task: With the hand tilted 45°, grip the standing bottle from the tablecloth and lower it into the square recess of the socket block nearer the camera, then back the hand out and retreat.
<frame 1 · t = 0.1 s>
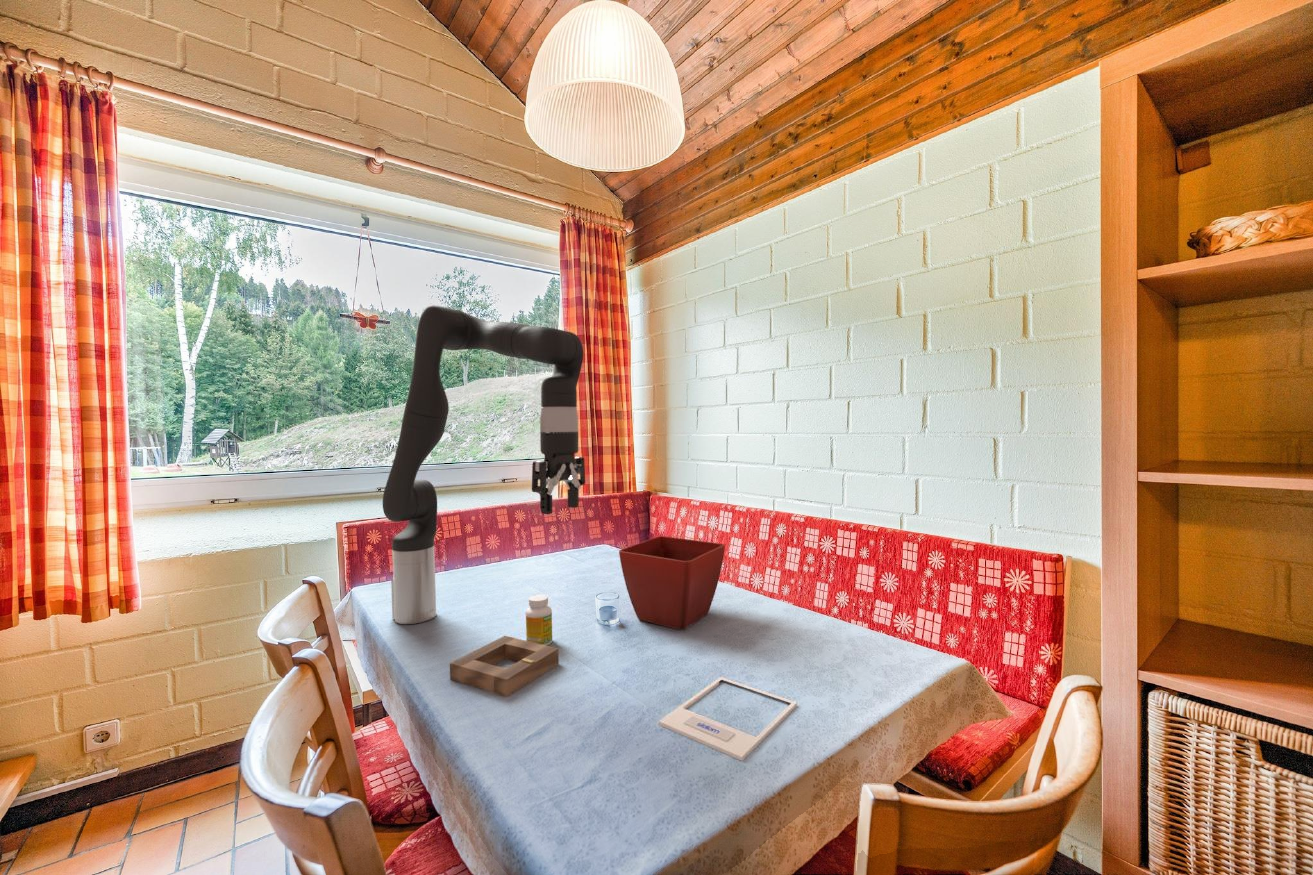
hand: (560, 510, 109), 29 cm above the table, tool pointing down, fingers open, 8 cm apart
plant pot: (674, 617, 129), on the table
photo frame: (729, 718, 86), on the table
socket block: (505, 671, 102), on the table
supplement bottle: (539, 643, 115), on the table
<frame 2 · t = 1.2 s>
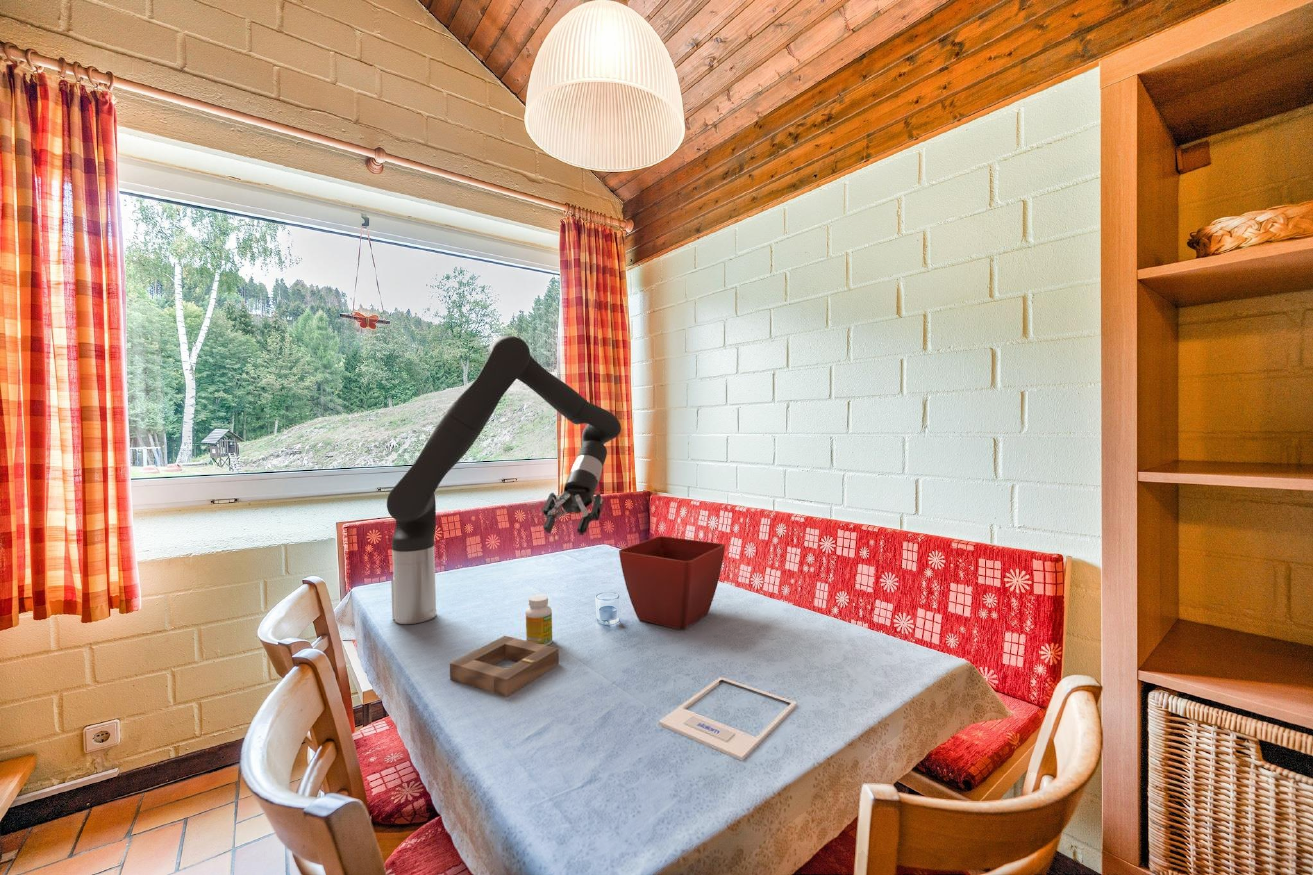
hand: (563, 532, 125), 21 cm above the table, tool tilted 45°, fingers open, 8 cm apart
nothing on the table moved.
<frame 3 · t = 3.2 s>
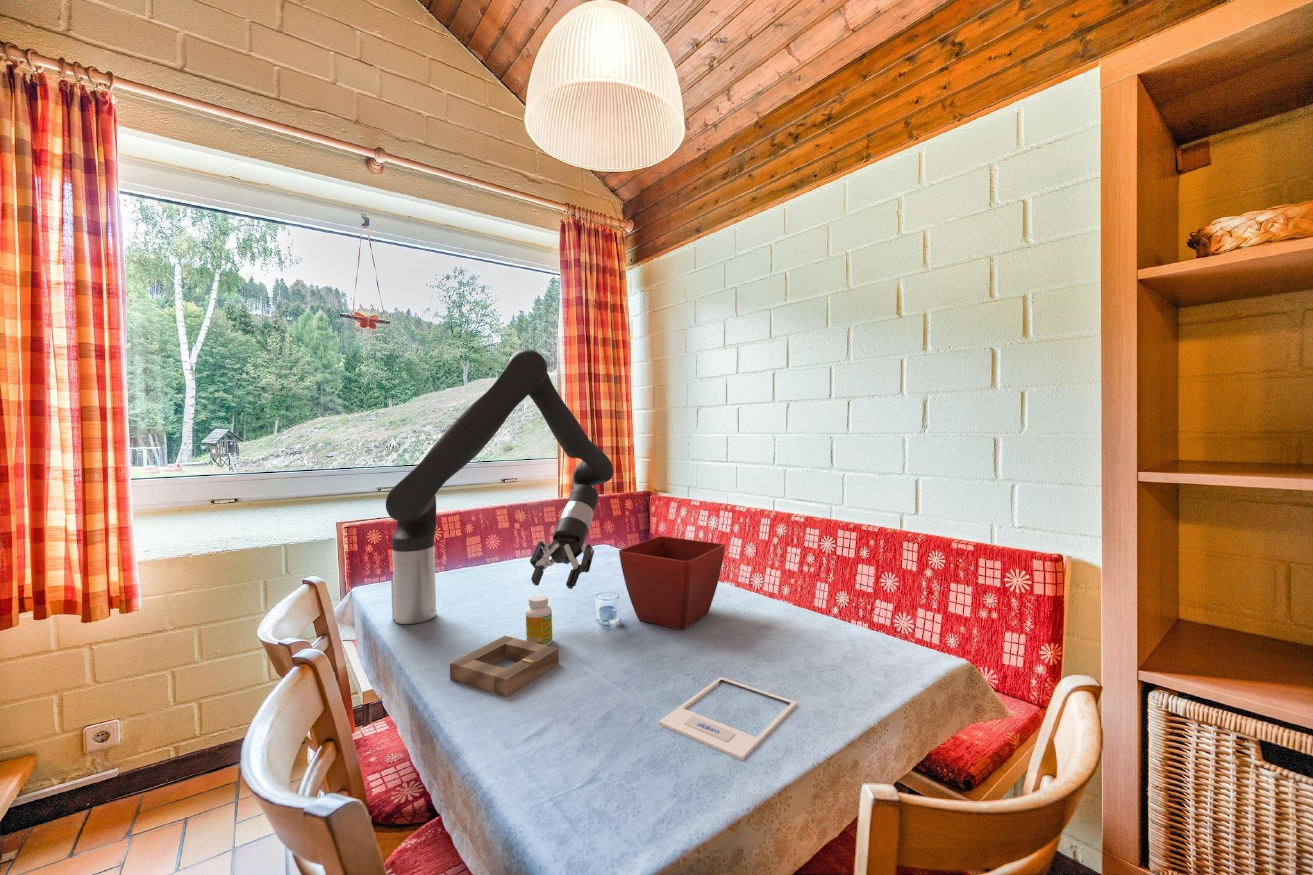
hand: (551, 585, 120), 11 cm above the table, tool tilted 45°, fingers open, 8 cm apart
nothing on the table moved.
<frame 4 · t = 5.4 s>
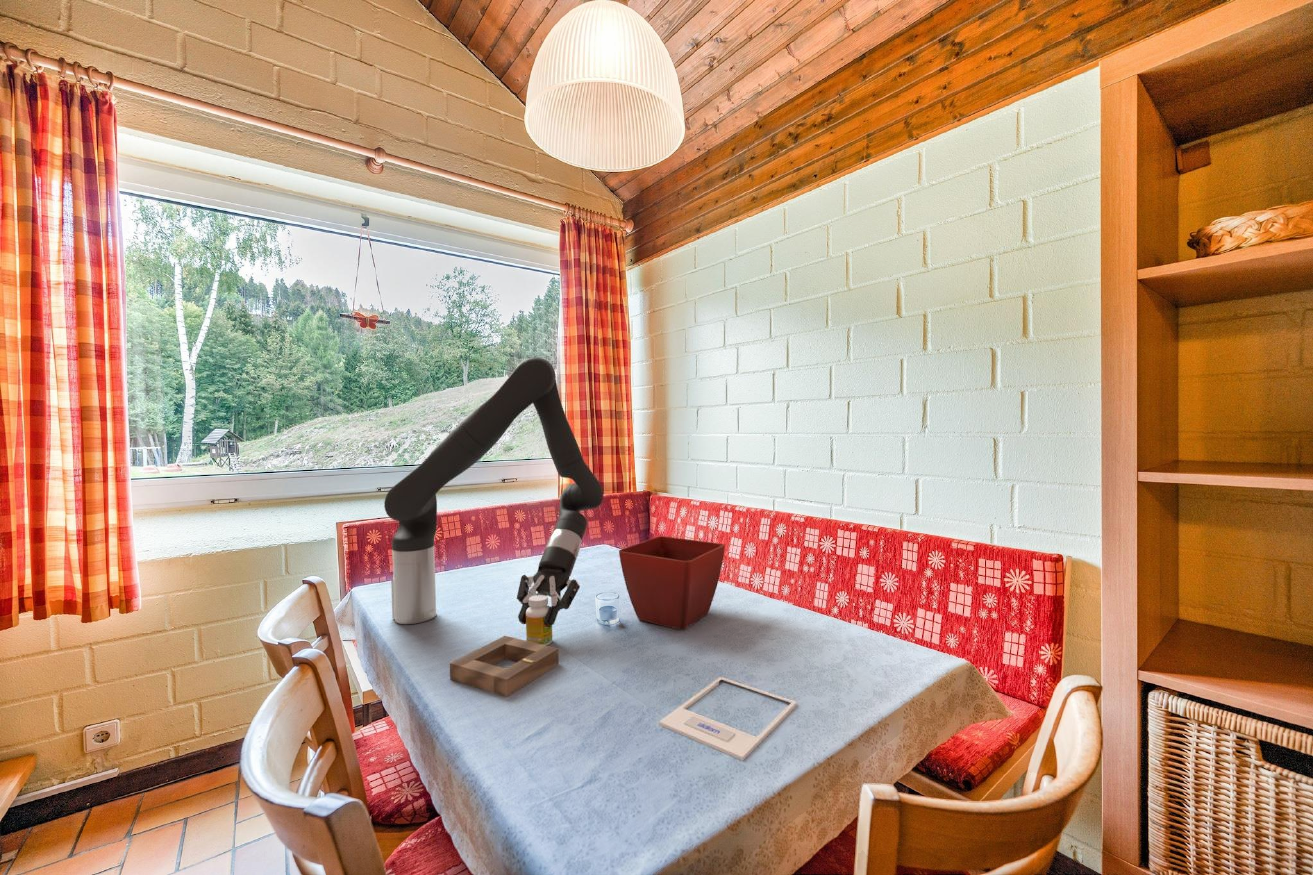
hand: (534, 623, 113), 5 cm above the table, tool tilted 45°, fingers closed on supplement bottle, 5 cm apart
supplement bottle: (539, 643, 115), on the table, touching gripper
everything else where it was.
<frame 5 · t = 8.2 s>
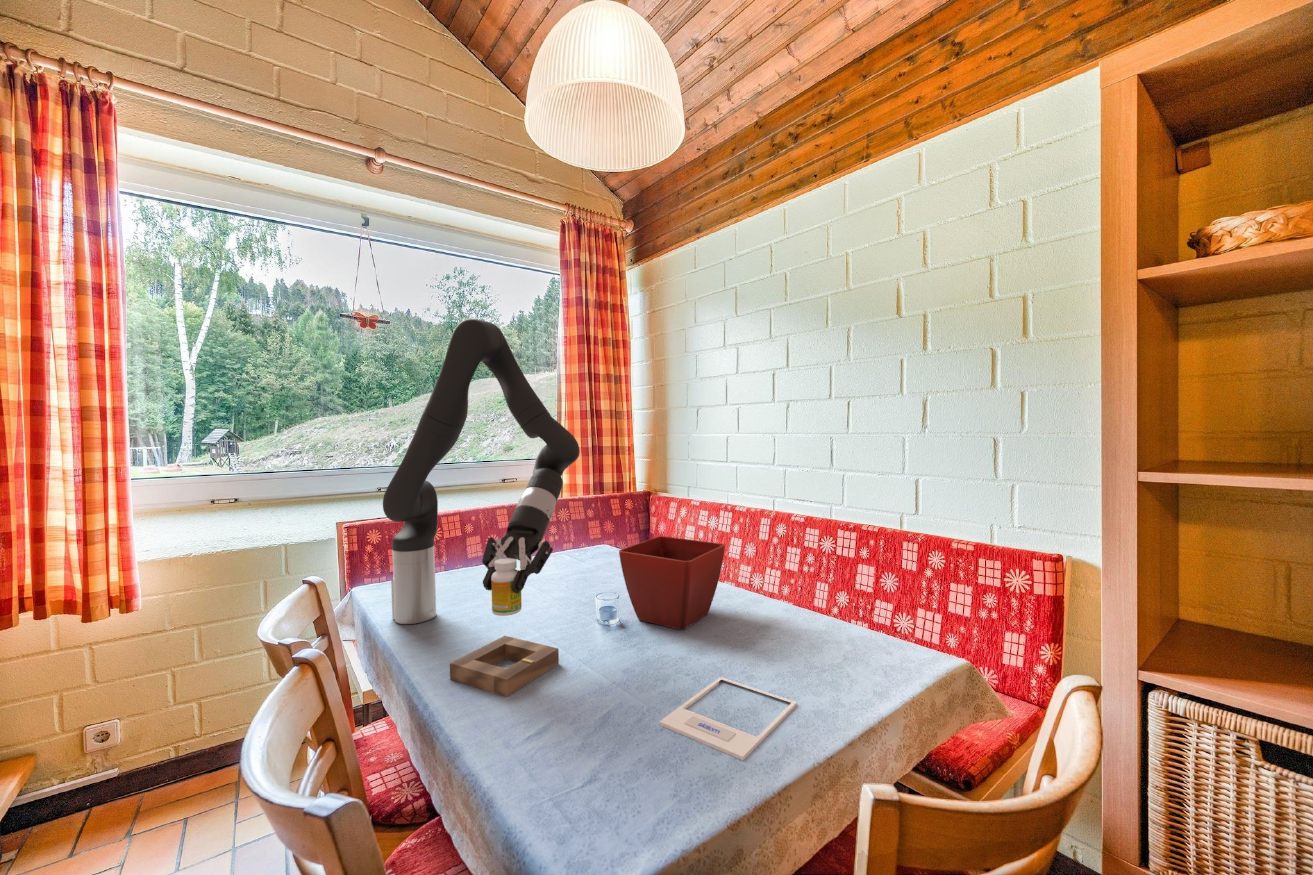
hand: (500, 589, 101), 16 cm above the table, tool tilted 45°, fingers closed on supplement bottle, 5 cm apart
supplement bottle: (507, 612, 103), point 11 cm above the table, touching gripper
everything else where it was.
when the fingers open (6 cm above the table, at t = 11.1 s): supplement bottle drops 1 cm, resting in socket block.
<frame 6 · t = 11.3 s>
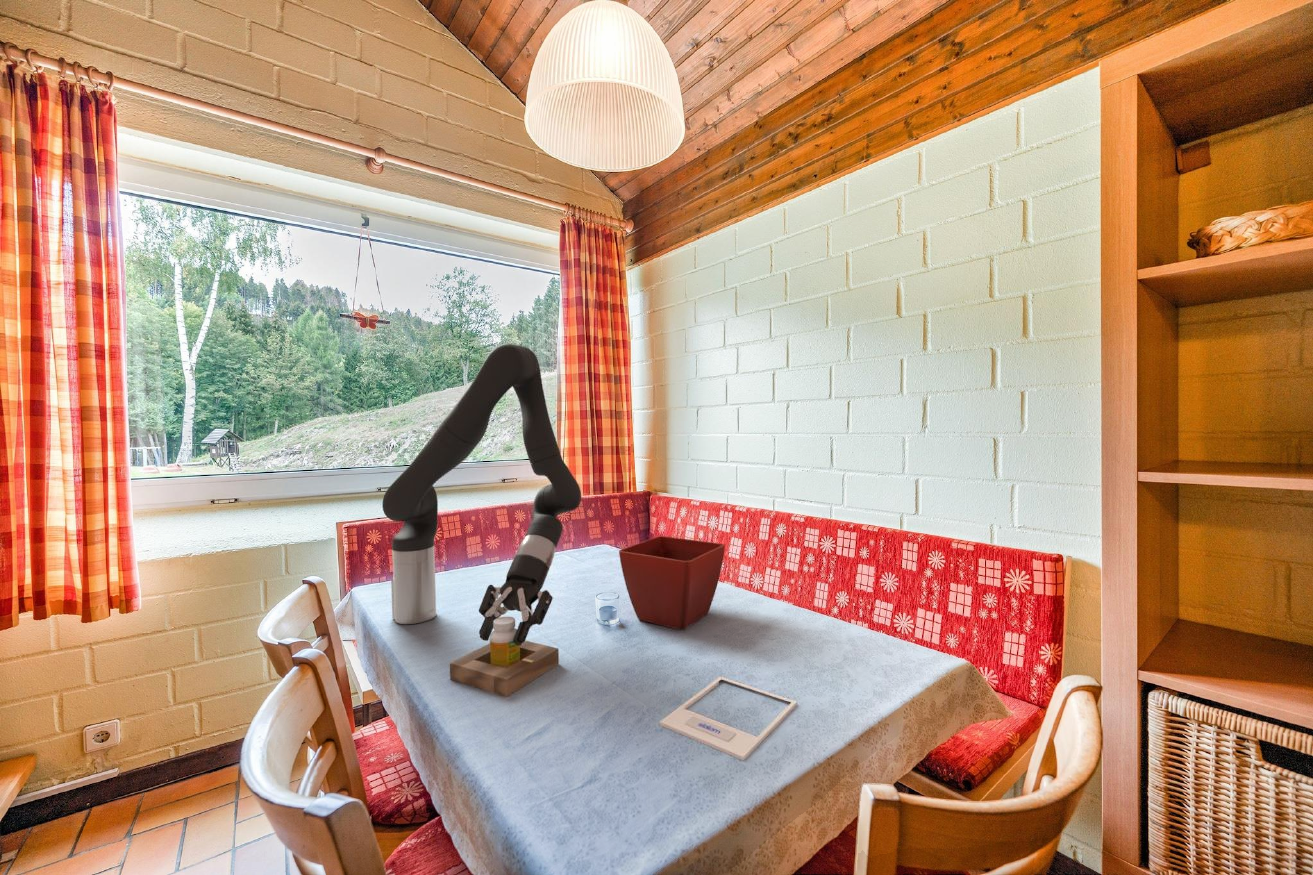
hand: (499, 641, 101), 6 cm above the table, tool tilted 45°, fingers open, 6 cm apart
supplement bottle: (505, 671, 103), resting in socket block
everything else where it was.
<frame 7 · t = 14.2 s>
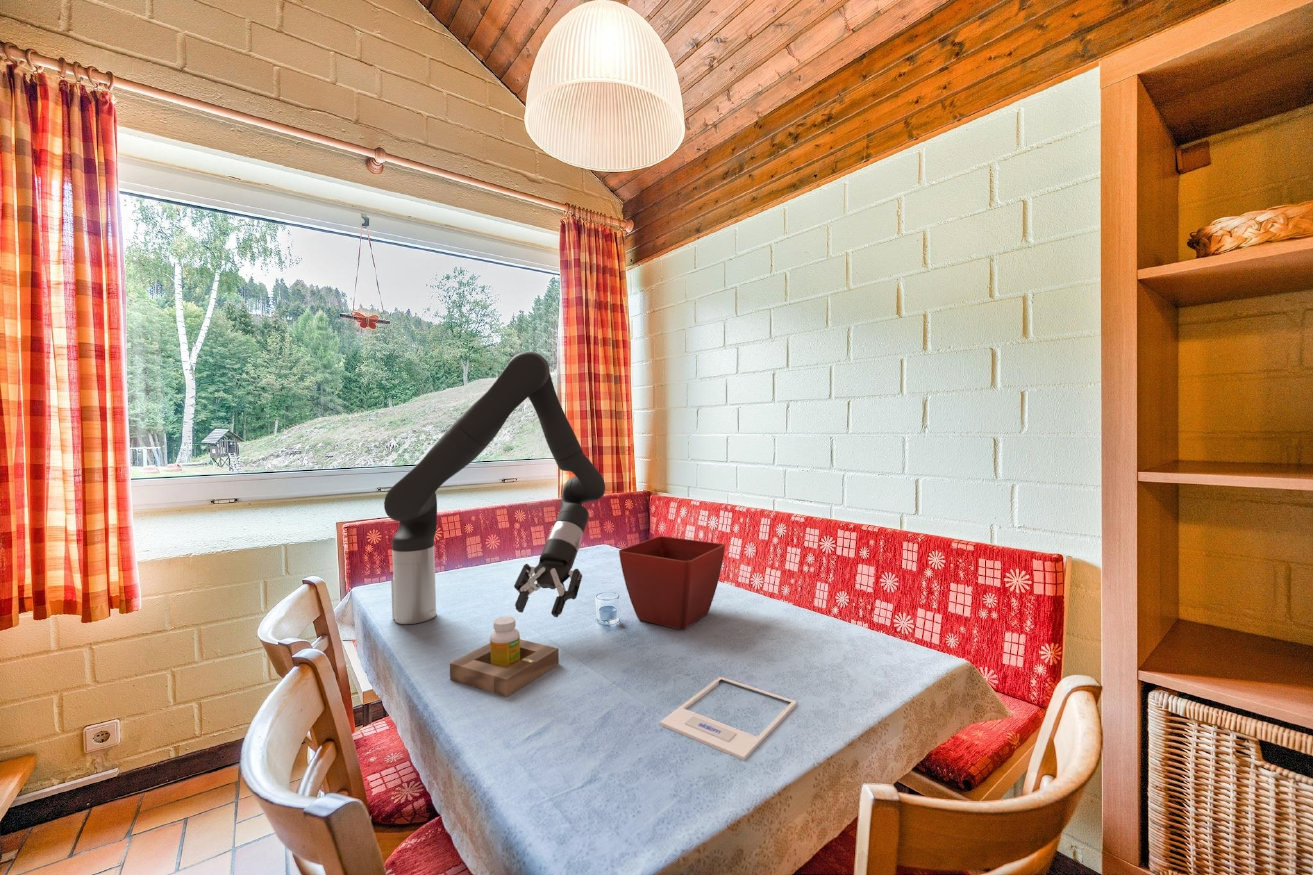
hand: (536, 613, 113), 7 cm above the table, tool tilted 45°, fingers open, 8 cm apart
nothing on the table moved.
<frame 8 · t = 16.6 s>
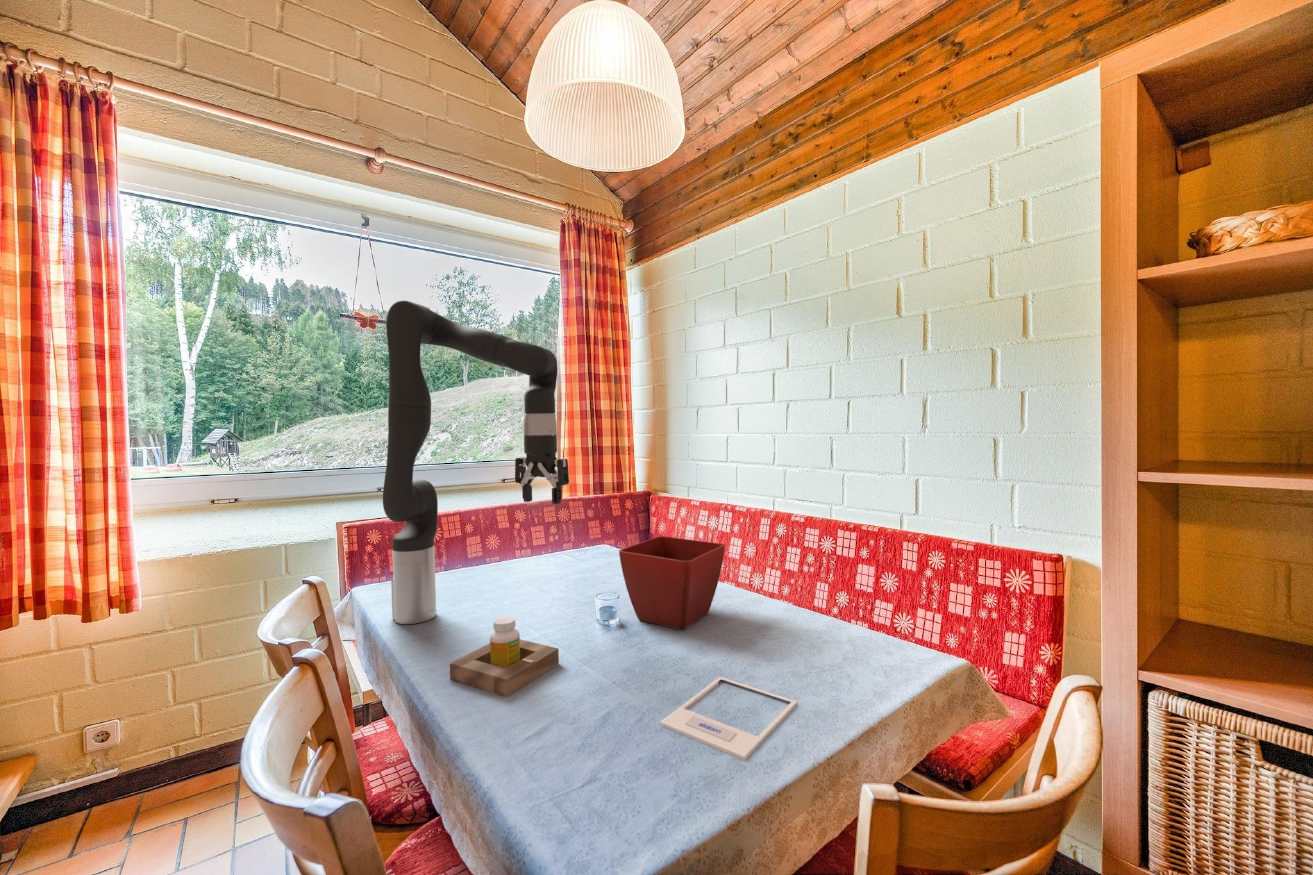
hand: (542, 502, 126), 28 cm above the table, tool pointing down, fingers open, 8 cm apart
nothing on the table moved.
at the end: supplement bottle 0.3 cm off-centre on the socket block, point 0.0 cm above the socket block's base; supplement bottle tilted 0°; the gripper is holding nothing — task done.
